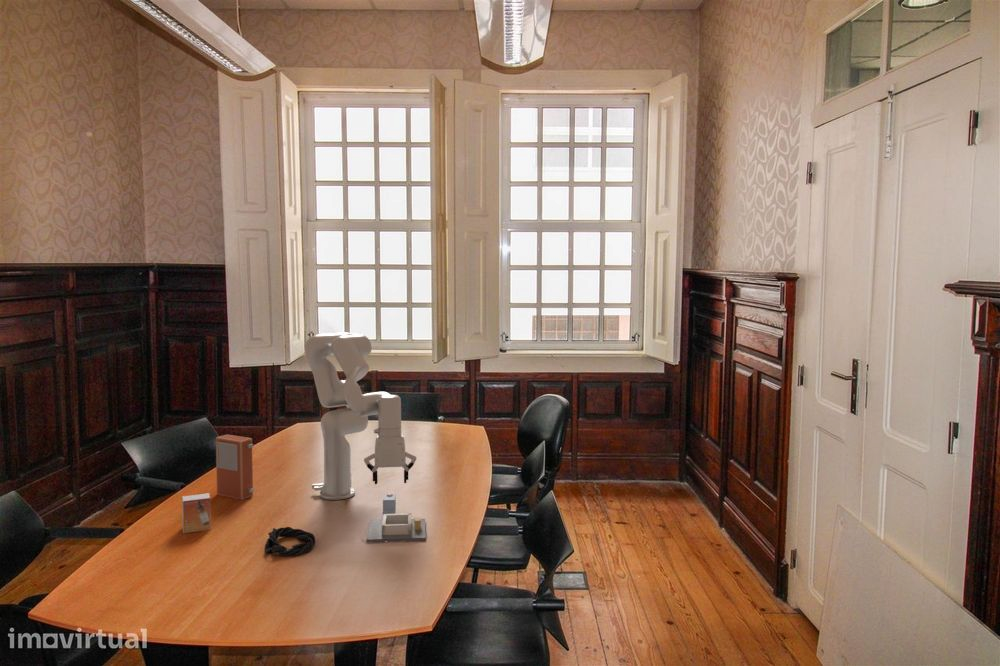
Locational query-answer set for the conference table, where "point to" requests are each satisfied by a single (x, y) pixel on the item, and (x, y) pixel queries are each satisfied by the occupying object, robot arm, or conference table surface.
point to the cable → (294, 550)
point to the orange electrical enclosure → (234, 466)
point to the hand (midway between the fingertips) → (390, 482)
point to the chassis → (397, 528)
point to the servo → (389, 503)
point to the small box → (196, 513)
